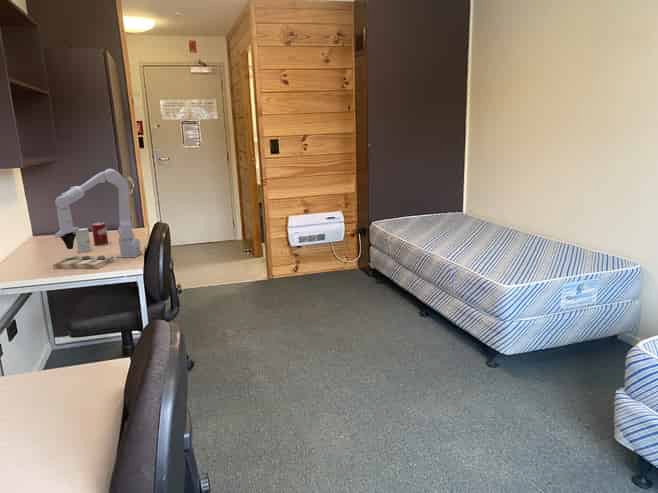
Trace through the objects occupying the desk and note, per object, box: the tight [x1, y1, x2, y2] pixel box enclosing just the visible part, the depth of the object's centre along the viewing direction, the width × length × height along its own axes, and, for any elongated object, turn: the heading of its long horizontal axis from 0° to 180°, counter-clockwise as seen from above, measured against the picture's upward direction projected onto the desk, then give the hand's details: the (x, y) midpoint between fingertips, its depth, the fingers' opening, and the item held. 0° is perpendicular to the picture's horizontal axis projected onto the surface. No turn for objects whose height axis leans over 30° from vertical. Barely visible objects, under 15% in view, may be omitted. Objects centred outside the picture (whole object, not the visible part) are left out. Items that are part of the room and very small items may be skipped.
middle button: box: [82, 255, 90, 260], centre depth 233 cm, size 3×3×2 cm
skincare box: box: [74, 227, 92, 254], centre depth 257 cm, size 6×4×12 cm
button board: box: [52, 255, 115, 270], centre depth 231 cm, size 23×13×3 cm, turn 81°
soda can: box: [91, 222, 109, 247], centre depth 271 cm, size 7×7×12 cm
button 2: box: [97, 255, 106, 260], centre depth 232 cm, size 3×3×2 cm
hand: (70, 248), depth 233 cm, fingers closed
